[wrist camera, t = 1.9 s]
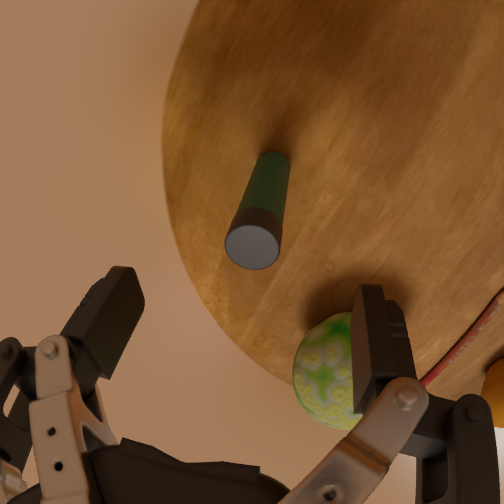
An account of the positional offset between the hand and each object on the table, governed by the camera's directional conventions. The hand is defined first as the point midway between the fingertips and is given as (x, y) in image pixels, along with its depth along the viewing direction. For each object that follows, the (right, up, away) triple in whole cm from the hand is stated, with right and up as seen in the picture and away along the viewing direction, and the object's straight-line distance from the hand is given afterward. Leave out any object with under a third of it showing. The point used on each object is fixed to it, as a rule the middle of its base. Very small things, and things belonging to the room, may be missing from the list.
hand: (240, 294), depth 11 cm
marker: (+2, +7, +9) cm, 12 cm away
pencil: (+22, -8, +17) cm, 29 cm away
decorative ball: (+9, -5, +17) cm, 20 cm away
